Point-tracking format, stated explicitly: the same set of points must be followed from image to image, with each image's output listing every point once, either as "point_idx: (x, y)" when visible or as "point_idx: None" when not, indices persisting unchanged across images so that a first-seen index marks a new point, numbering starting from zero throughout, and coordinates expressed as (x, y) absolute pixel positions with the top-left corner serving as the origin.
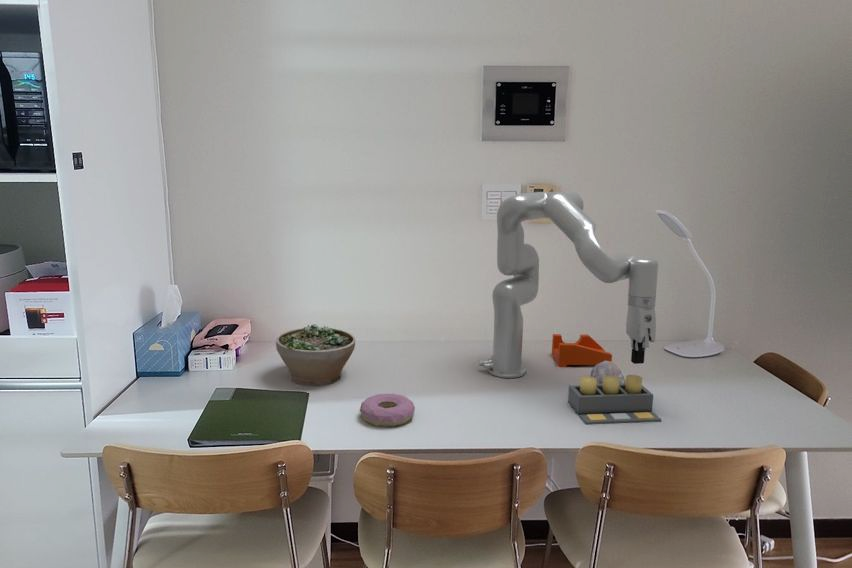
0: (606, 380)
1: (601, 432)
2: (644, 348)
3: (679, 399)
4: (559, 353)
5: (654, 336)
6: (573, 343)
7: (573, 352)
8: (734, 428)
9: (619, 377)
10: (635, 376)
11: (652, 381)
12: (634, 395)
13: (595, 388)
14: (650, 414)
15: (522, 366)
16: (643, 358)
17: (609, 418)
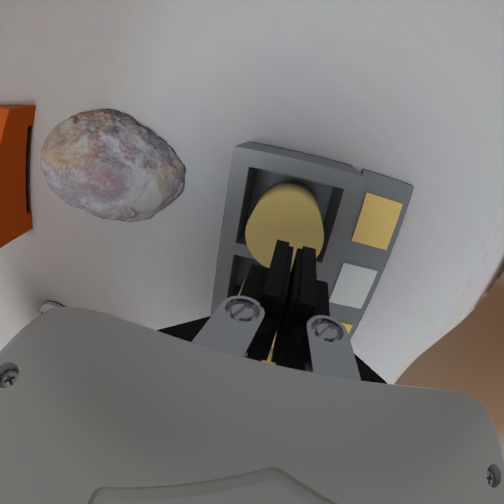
0: (272, 346)
1: (383, 350)
2: (360, 363)
3: (277, 8)
4: (9, 240)
5: (496, 466)
6: None
7: (3, 212)
8: (489, 44)
9: (127, 158)
10: (274, 223)
11: (124, 24)
12: (341, 251)
13: (271, 354)
14: (382, 199)
15: (49, 306)
16: (315, 268)
17: (346, 312)
